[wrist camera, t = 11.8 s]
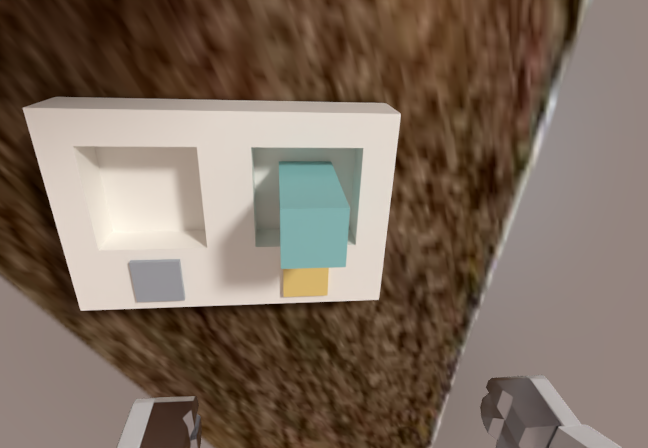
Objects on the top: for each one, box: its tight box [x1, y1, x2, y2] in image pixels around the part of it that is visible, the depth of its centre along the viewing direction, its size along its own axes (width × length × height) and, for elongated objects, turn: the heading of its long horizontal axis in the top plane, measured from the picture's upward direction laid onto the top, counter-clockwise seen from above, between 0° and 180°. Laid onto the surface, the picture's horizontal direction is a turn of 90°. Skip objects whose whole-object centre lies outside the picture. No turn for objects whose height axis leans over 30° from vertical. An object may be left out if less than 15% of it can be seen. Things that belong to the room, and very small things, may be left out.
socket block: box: [23, 97, 401, 311], centre depth 26 cm, size 13×20×4 cm, turn 88°
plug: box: [279, 161, 350, 269], centre depth 24 cm, size 3×3×8 cm
